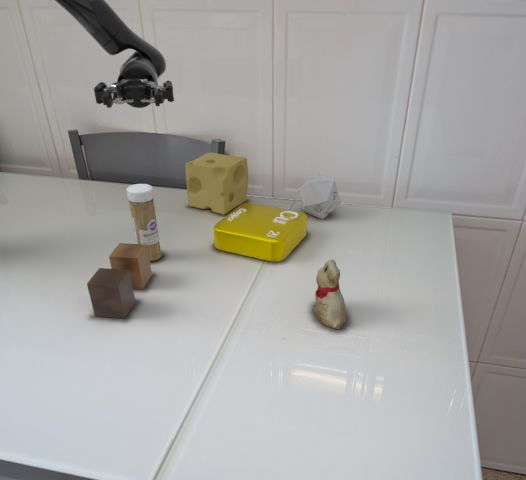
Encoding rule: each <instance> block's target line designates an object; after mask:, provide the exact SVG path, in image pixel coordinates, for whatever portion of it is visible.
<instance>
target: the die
mask: <svg viewBox="0 0 526 480" xmlns="http://www.w3.org/2000/svg"><path fill="white" fill-rule="evenodd" d="M297 193H298V196H299V199H300V203H301V206H302V209H303V211H304V212H303V213H305V214H306V215H310V216H312V217H315V218H318V219H321V220H324V219H325V218H326V217H327V216H328V215H329V214H330V213H332V212H333V211H334V210H335V209H336V208H337V207H338V206H340V205H341V204H342V202H341V198H340V194H339V191H338V187H337V184H336V179H334V178H331V177H328V176H324V175H321V174H319V173H315V174H313V175H312V176H311V177H310V178H309V179H308V180H307V181H306V182H304V183H303V185H301V186H300V187H299V188H297Z"/></svg>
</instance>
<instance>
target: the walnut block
mask: <svg viewBox="0 0 526 480" xmlns="http://www.w3.org/2000/svg"><path fill="white" fill-rule="evenodd" d="M86 287H87V290H88V294H89V298H90V303H91V305H92V309H93V314H94V317H98V318H109V319H110V318H111V319H122V320H124V319H126V318H127V316H128V315H129V313H131V312H130V311H131V310H132V308H133V307H134V305H135V303H136V296H135V292H134V289H133V286H132V280H131V275H130V270H123V269H111V268H106V267H99V268H98V269H97V270H96V271H95V273H94V274H93V275H92V277H91V278H90V279H89V280H88V282H87V283H86Z"/></svg>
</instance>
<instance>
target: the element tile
mask: <svg viewBox="0 0 526 480" xmlns="http://www.w3.org/2000/svg"><path fill="white" fill-rule="evenodd" d="M307 230H308V214H307V213H305V212H302V211H296V210H291V209H285V208H280V207H276V206H270V205H264V204H259V203H253V202H244V203H242V204H240V205H238V206H237V207H235V208H234V209H233V211H230V212H229V214H228V215H226V216H225V217H223V218H222V219H221V220H219V221H218V222H216V224H214V226H213V242H214V243H213V244H214V247H215V249H217V250H219V251H222V252H227V253H231V254H236V255H241V256H245V257H250V258H254V259H258V260H263V261H268V262H272V263H273V262H276V263H277V262H278V263H279V262H282V261H283V260H285V259H286V258H287V257H288V256H289V255H290V254H291V253H292V251H293V250H294V249H295V248H297V246H298V245H299V244H300V243H301V242H302V240H303V239H305V237H306V236H307V232H308V231H307Z"/></svg>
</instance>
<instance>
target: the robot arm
mask: <svg viewBox="0 0 526 480" xmlns="http://www.w3.org/2000/svg"><path fill="white" fill-rule="evenodd" d="M54 1H55V2H56V3H57V4H58V5H59V6H61V7H62V8H63V9H64V10H65V11H66V12H67V13H68V14H69V15H71V16H72V17H73V19H74V20H75V21H77V23H78V24H79V25H80V26H81V27H82V28H83V29H84V30H85V31H86V32H87V33H88V34H89V35H90V36H91V37H92V38H93V39H94V41H95V42H96V43H97V44H98V45H99V46H100V47H101V48H102V50H104V51H105V52H106V53H107V54H108V55H109V56H112V57H113V56H117V55H119V54H120V53H122V52H124V51H126V50H132V51H133V50H134V52H133V53H132V54H131V55H130V56H129V57H128V58H127V59H126V60H125V61H124V62H123V63H122V65H121V66H120V68H119V74H118V77H117V81H116V82H112V83H111V84H110V86H108V85H107V83H106V82H103V81H101V82H99V83H97V84H96V86H94V88H93V92H94V97H95V104H98V105H102V104H103V106H106V108H108V109H111V108H112V107H113V104H116V105H123V104H127V105H128V106H130V107H132V108H135V109H143V108H146V107H149V106H150V105H151V104H155V107H160V106H161V104H164V103H165V100H167V102H169V103H173V102H175V96H174V91H173V90H174V86H173V83H172V81H171V80H166V81H164V82H163V83H162V85H159V84H158V82H159V81H158V80H159V78H161V77H162V76H163V74H165V72H166V70H167V62H166V58H165V57H164V55H163V54H162V52H161V51H160V50H159V49H157V48H156V47H155V46H154V45H153V44H151V43H150V42H148V41H146V40H145V39H144V38H142V37H141V36H140V35H138V34H137V33H136V32H134V31H133V30H132V29H131V28H130V27H129V26H128V25H127V23H126V22H124V20H123V19H122V18H121V17H120V16H119V14H117V13H116V11H115V10H114V9H113V8H112V7H111V6H110V4H109V3H108V2H107V1H106V0H54Z"/></svg>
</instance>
